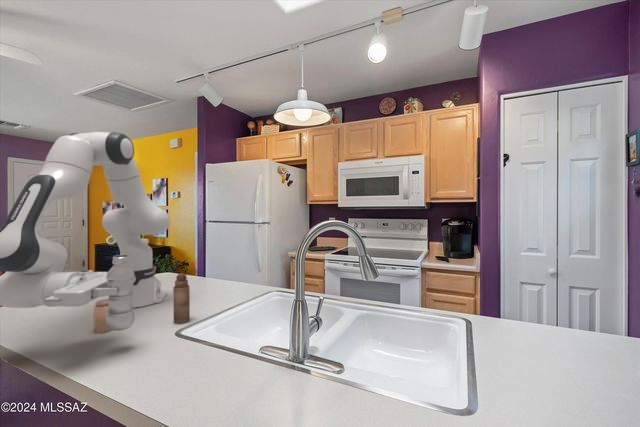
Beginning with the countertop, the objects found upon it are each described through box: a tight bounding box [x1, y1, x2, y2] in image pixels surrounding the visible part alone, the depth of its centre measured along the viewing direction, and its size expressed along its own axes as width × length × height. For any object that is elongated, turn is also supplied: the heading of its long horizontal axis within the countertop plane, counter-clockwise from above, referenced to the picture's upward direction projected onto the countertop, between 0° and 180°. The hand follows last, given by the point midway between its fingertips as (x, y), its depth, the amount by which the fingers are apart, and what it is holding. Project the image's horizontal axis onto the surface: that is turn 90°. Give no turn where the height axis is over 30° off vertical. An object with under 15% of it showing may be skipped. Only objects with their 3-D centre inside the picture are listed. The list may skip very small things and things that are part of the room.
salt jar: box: [93, 298, 113, 334], centre depth 95 cm, size 6×6×9 cm
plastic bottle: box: [106, 254, 136, 332], centre depth 82 cm, size 6×7×20 cm
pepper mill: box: [172, 272, 191, 325], centre depth 103 cm, size 5×5×17 cm
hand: (124, 286), depth 82 cm, fingers closed on plastic bottle, 6 cm apart
